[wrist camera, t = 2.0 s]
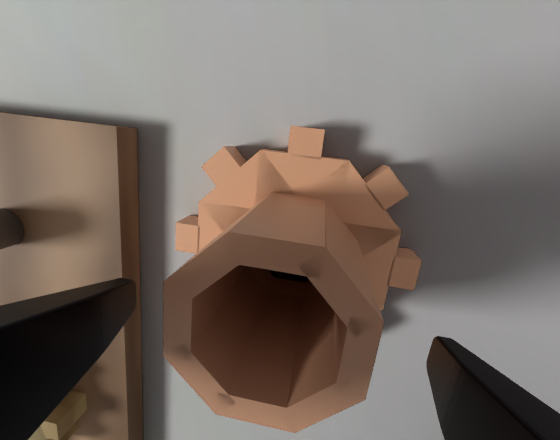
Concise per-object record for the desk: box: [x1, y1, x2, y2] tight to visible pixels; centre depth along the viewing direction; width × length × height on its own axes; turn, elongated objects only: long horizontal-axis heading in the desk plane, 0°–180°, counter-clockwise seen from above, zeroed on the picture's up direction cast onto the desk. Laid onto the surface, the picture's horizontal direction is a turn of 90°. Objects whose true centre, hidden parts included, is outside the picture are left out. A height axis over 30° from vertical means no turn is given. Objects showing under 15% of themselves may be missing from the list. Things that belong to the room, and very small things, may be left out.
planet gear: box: [163, 126, 422, 433], centre depth 11 cm, size 11×11×8 cm
